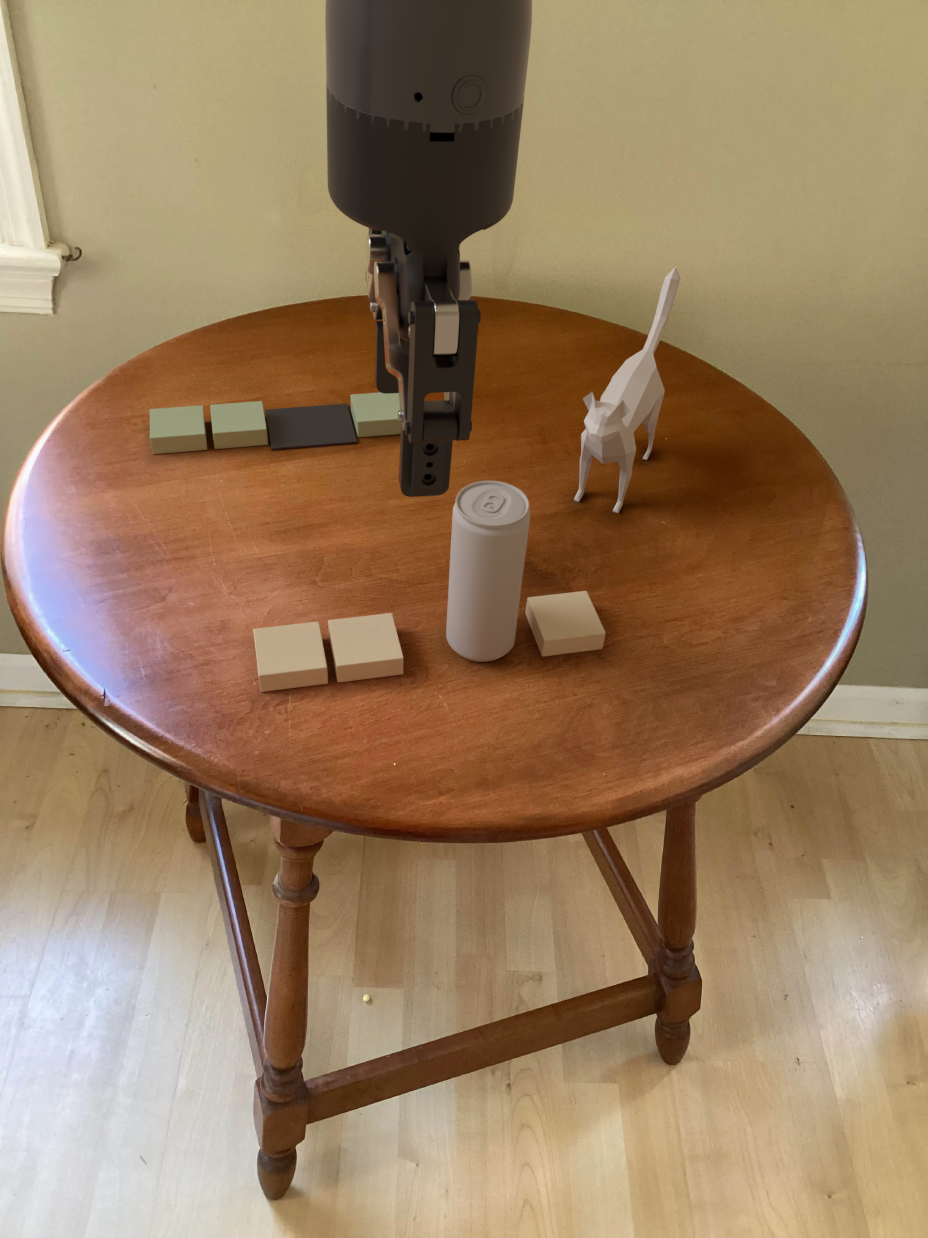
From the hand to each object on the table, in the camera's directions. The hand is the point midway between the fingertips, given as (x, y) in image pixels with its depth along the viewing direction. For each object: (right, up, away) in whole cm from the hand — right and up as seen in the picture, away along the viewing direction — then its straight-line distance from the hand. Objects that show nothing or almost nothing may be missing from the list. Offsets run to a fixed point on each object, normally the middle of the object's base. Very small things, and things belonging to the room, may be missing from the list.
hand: (409, 437), depth 51 cm
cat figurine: (+15, +4, +37) cm, 41 cm away
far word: (-12, +8, +39) cm, 42 cm away
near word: (0, -11, +21) cm, 23 cm away
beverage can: (+4, -10, +22) cm, 24 cm away
